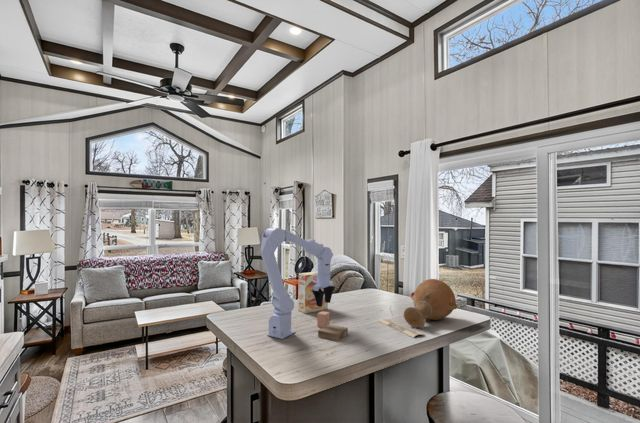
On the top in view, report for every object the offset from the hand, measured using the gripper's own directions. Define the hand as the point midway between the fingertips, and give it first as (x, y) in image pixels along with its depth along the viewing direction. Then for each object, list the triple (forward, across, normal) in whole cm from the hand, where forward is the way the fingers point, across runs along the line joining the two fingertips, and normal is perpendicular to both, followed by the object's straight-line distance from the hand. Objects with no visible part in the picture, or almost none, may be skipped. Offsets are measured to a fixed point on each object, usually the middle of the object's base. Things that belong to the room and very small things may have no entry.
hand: (323, 304), depth 145 cm
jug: (+10, +32, -38) cm, 51 cm away
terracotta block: (+10, 0, 0) cm, 10 cm away
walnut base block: (+10, -8, -9) cm, 16 cm away
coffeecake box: (+10, +21, +18) cm, 29 cm away
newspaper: (+11, +15, -30) cm, 35 cm away
